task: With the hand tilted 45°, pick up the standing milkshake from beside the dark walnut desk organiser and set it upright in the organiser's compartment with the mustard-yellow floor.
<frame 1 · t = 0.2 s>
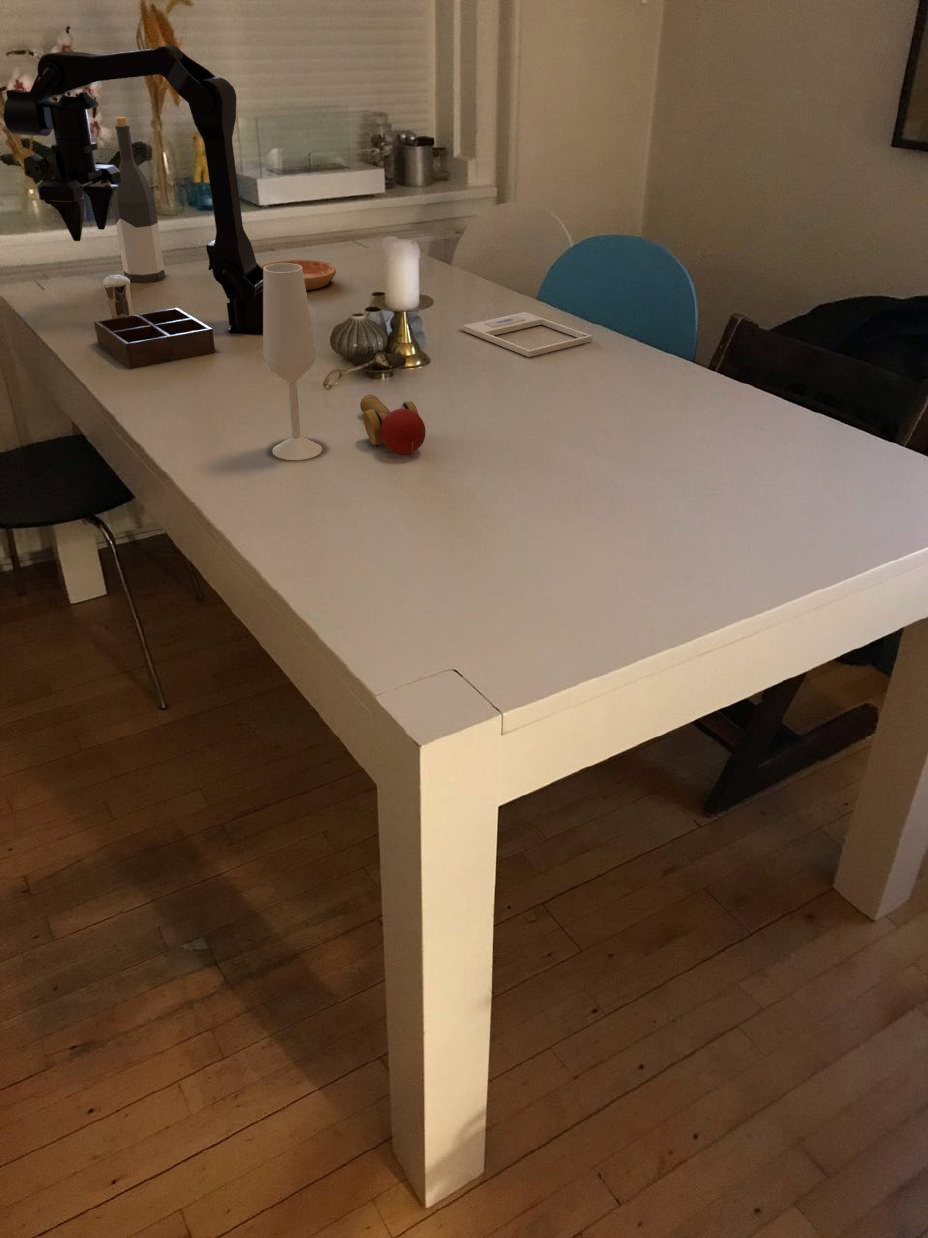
hand: (89, 234, 181), 15 cm above the table, tool pointing down, fingers open, 9 cm apart
organiser: (156, 348, 175), on the table
photo frame: (526, 336, 183), on the table
champagne flute: (297, 451, 140), on the table
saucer: (297, 284, 211), on the table
milkshake: (126, 328, 185), on the table
kendama: (388, 437, 144), on the table
wine bottle: (145, 278, 214), on the table
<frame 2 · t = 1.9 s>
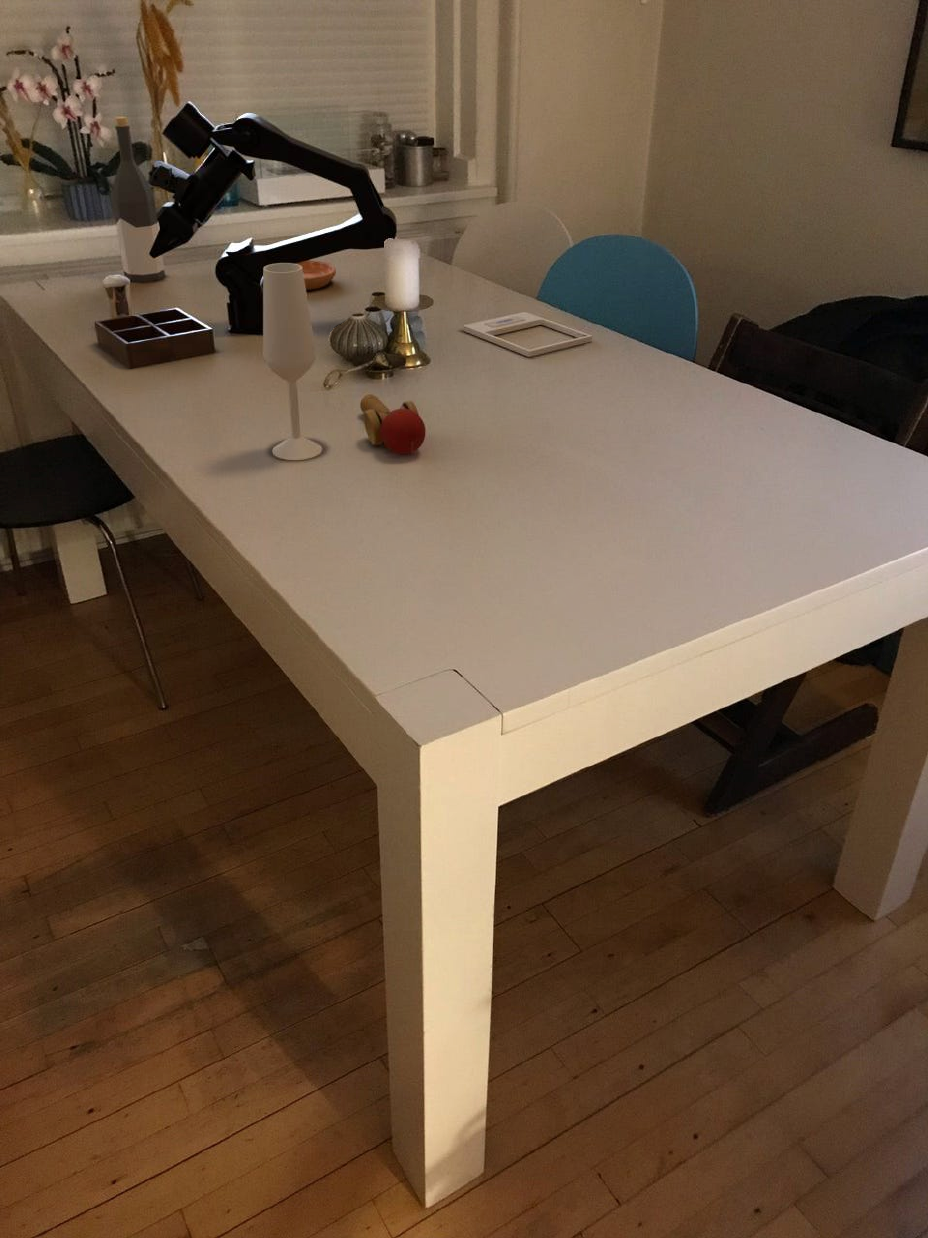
hand: (157, 249, 178), 13 cm above the table, tool tilted 45°, fingers open, 9 cm apart
nothing on the table moved.
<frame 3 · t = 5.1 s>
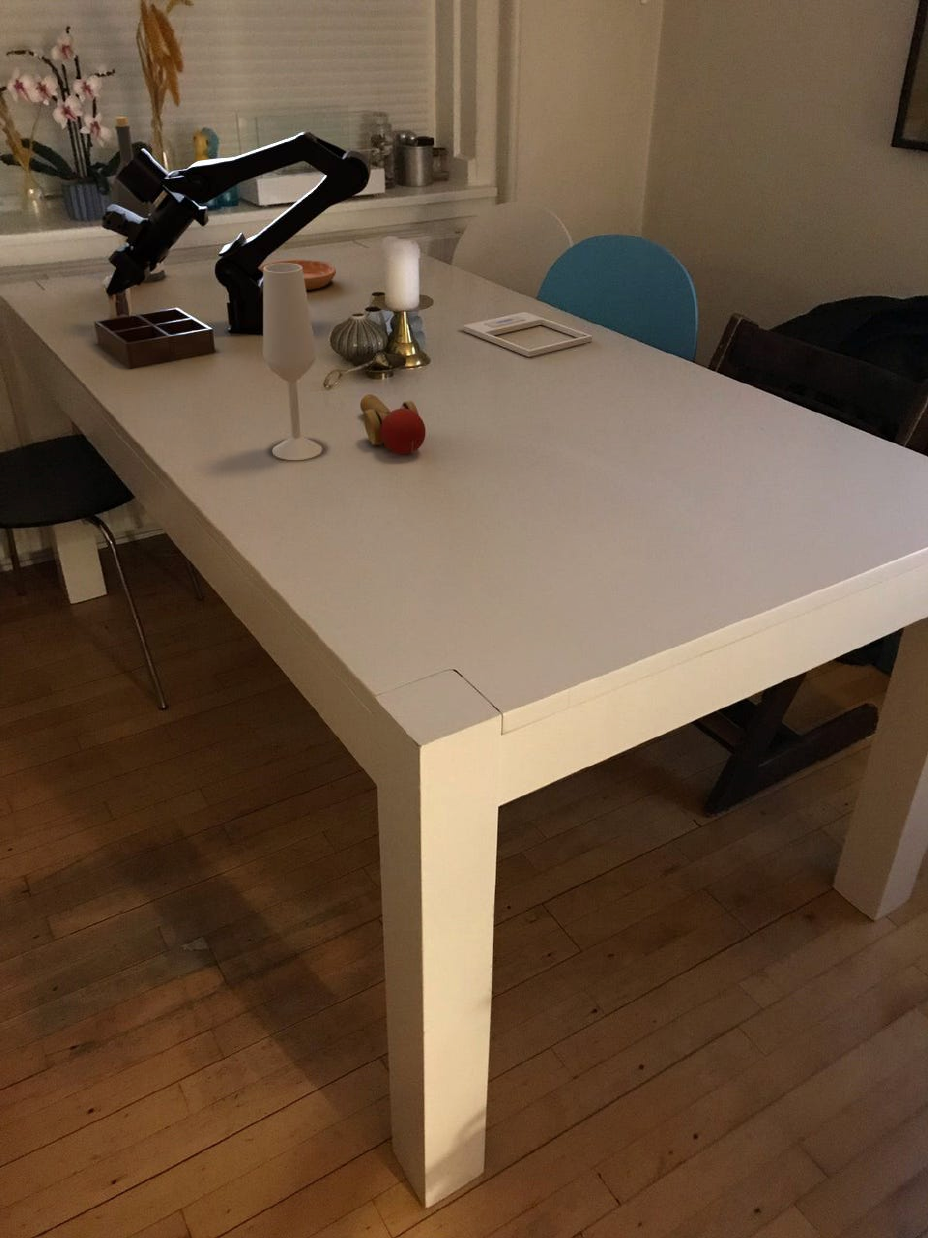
hand: (111, 289, 181), 7 cm above the table, tool tilted 45°, fingers closed on milkshake, 4 cm apart
milkshake: (126, 328, 185), on the table, touching gripper
everything else where it was.
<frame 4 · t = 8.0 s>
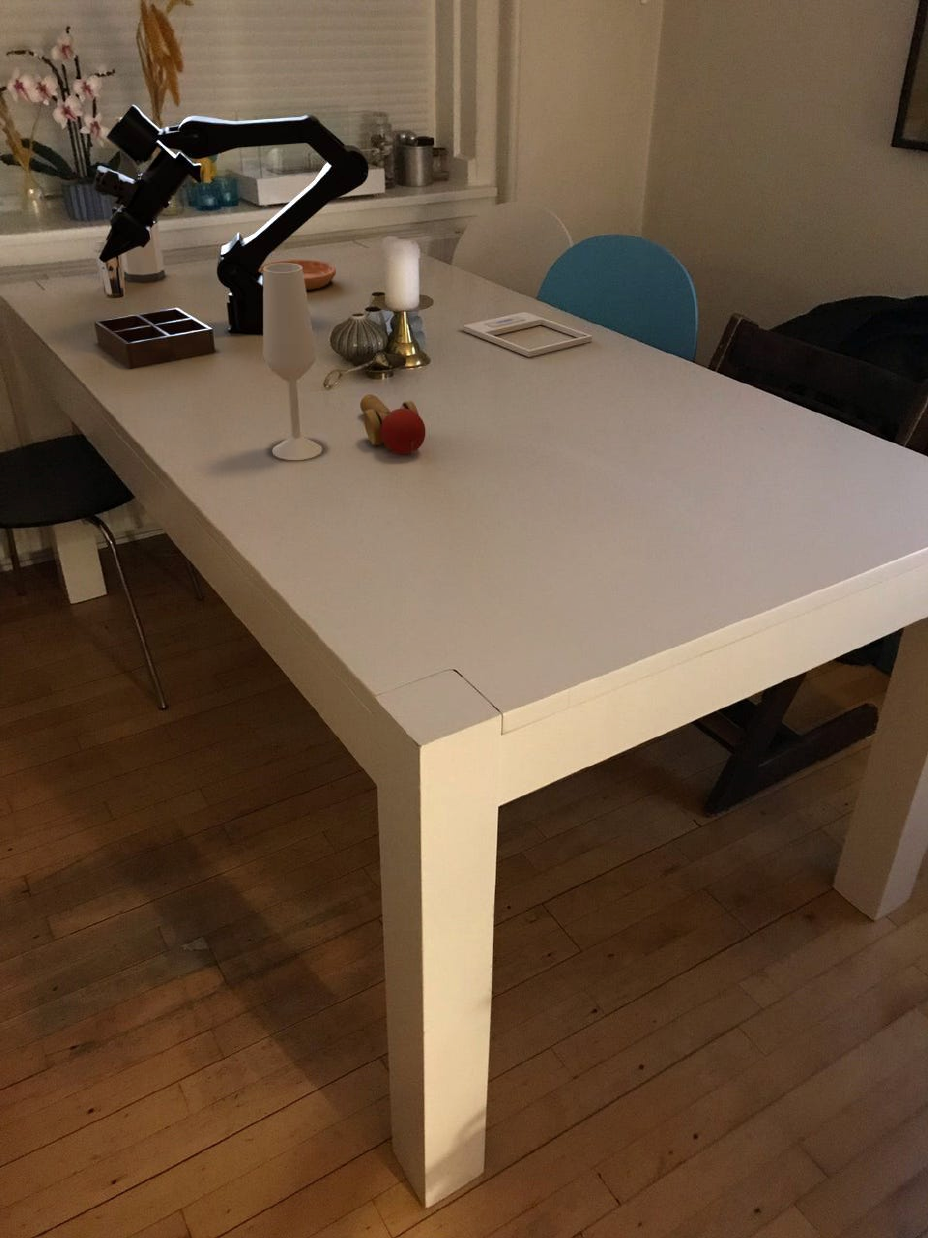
hand: (102, 256, 174), 13 cm above the table, tool tilted 45°, fingers closed on milkshake, 4 cm apart
milkshake: (118, 297, 178), point 6 cm above the table, touching gripper
everything else where it was.
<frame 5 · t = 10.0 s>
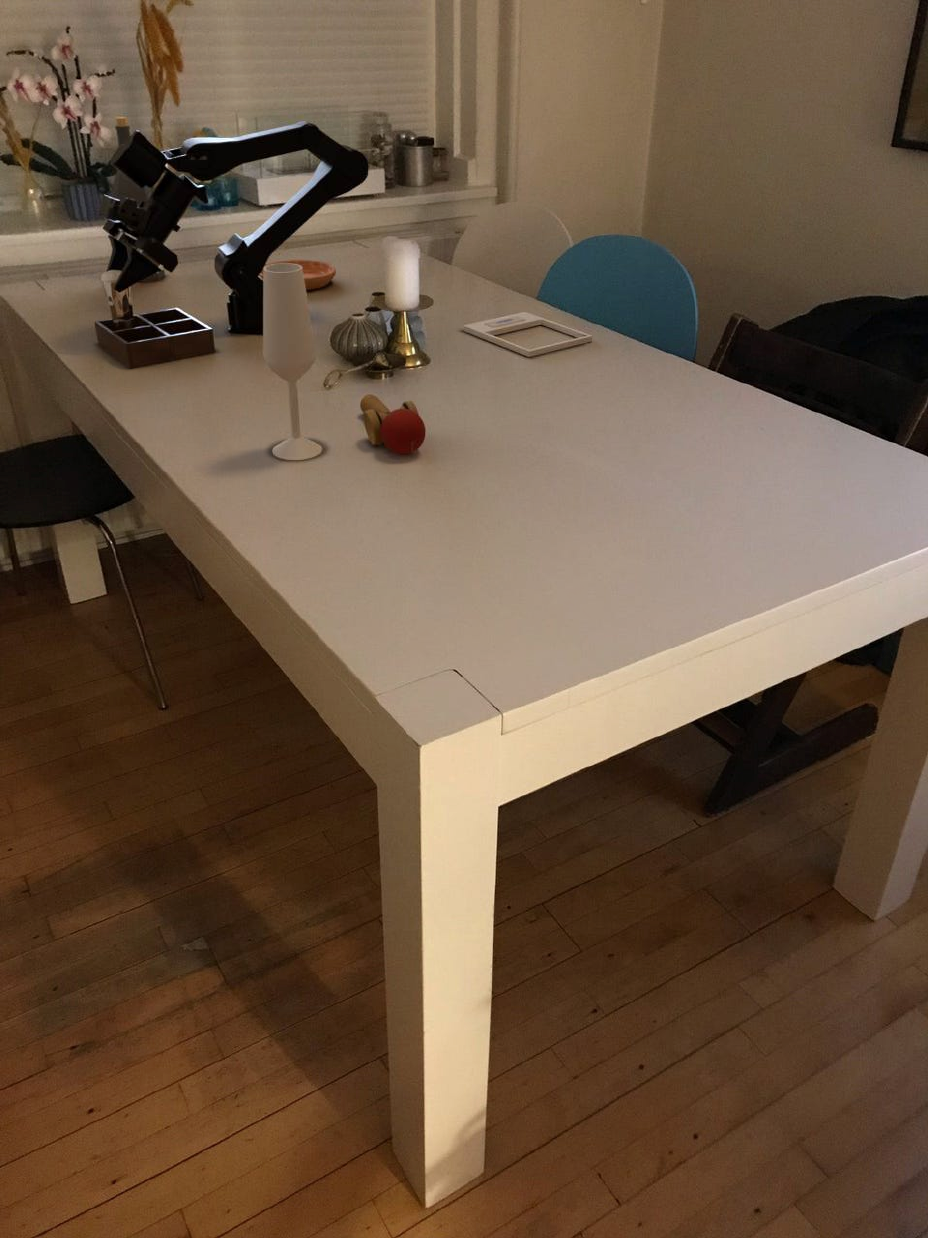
hand: (111, 287, 170), 10 cm above the table, tool tilted 45°, fingers closed on milkshake, 4 cm apart
milkshake: (126, 326, 174), point 3 cm above the table, touching gripper
everything else where it was.
when the fingers open (7 cm above the table, at t = 11.2 s): milkshake stays where it is, resting on organiser.
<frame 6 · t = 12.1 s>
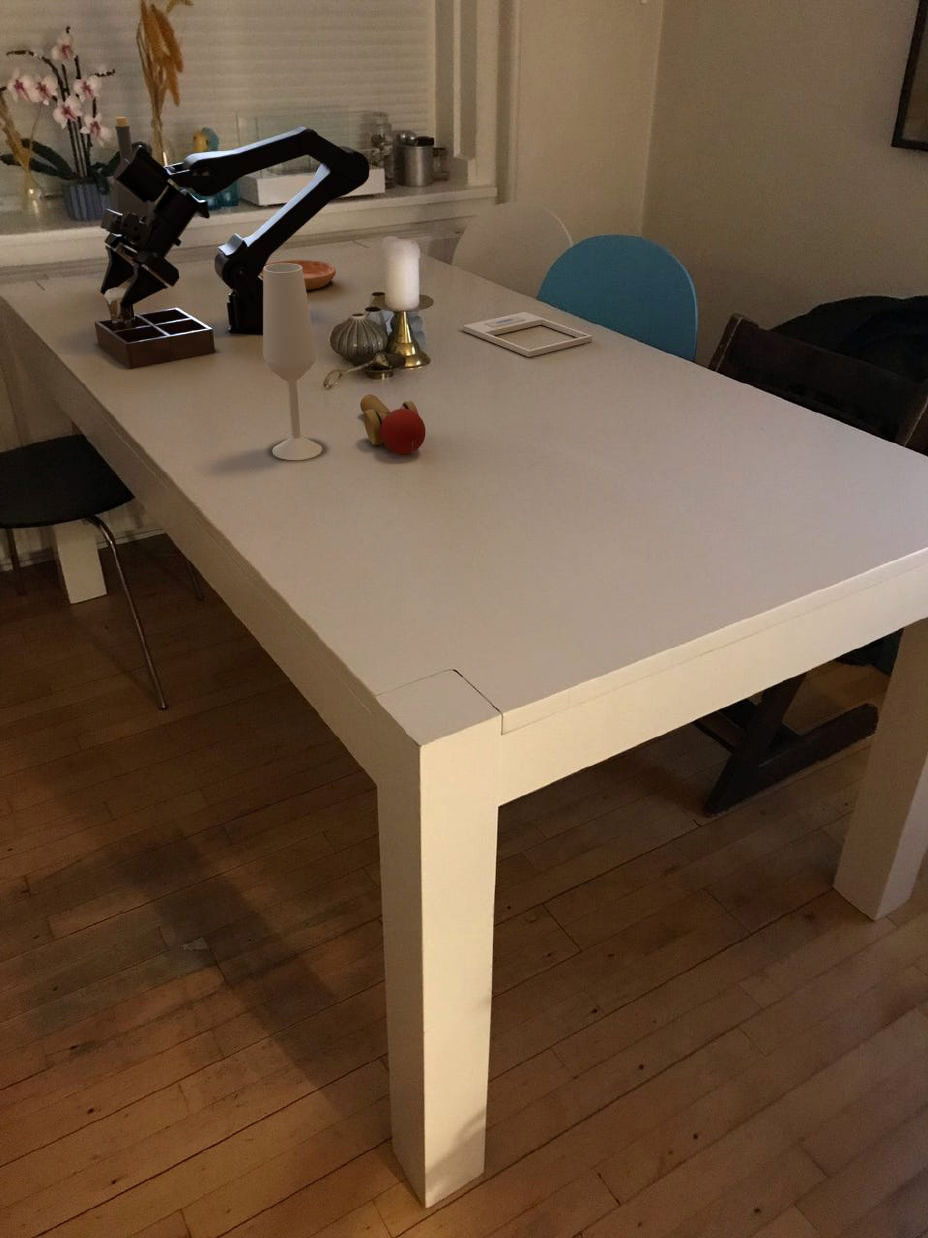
hand: (112, 300, 171), 8 cm above the table, tool tilted 45°, fingers open, 9 cm apart
milkshake: (129, 343, 175), point 1 cm above the table, touching organiser
everything else where it was.
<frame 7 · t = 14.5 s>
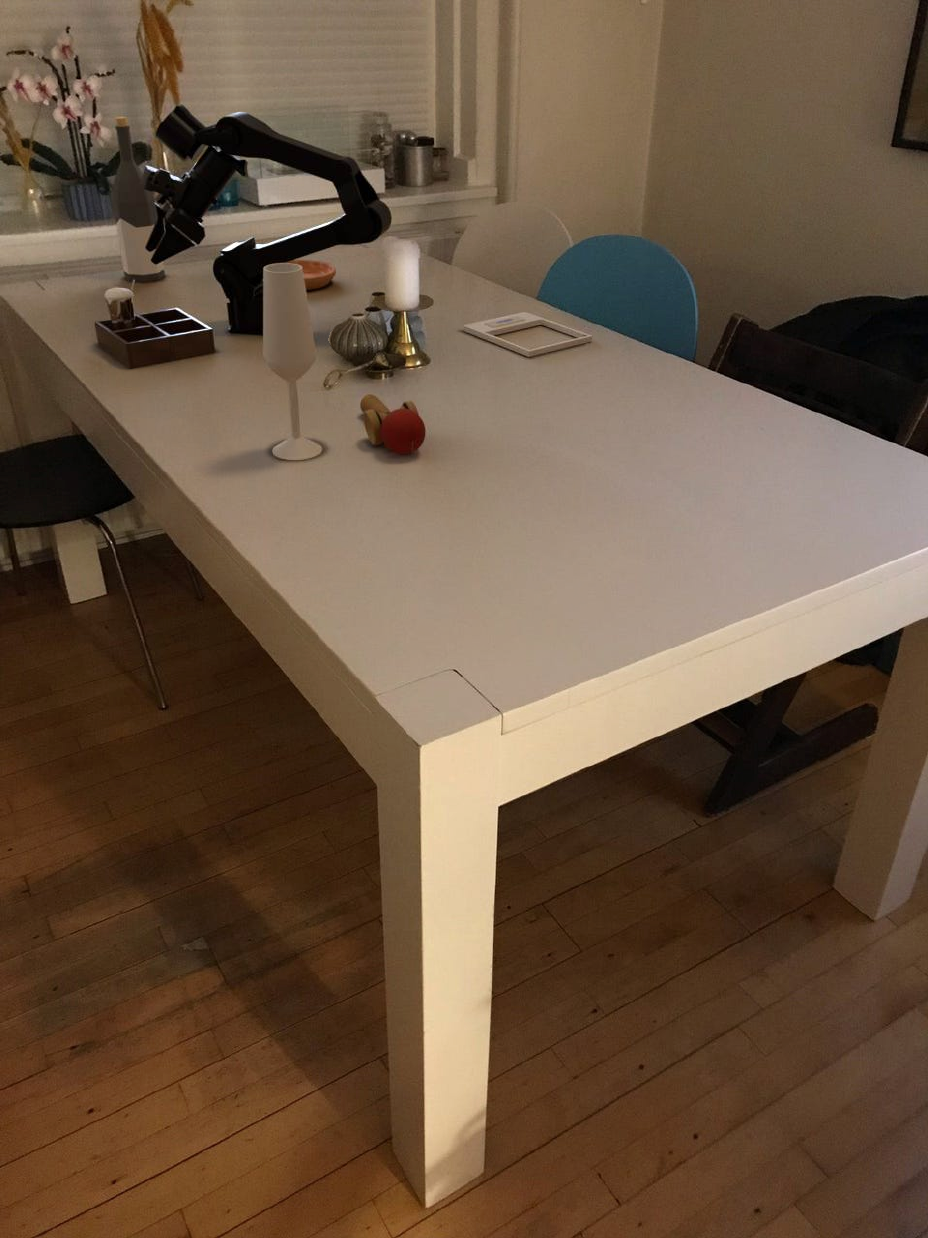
hand: (150, 256, 175), 13 cm above the table, tool tilted 45°, fingers open, 9 cm apart
nothing on the table moved.
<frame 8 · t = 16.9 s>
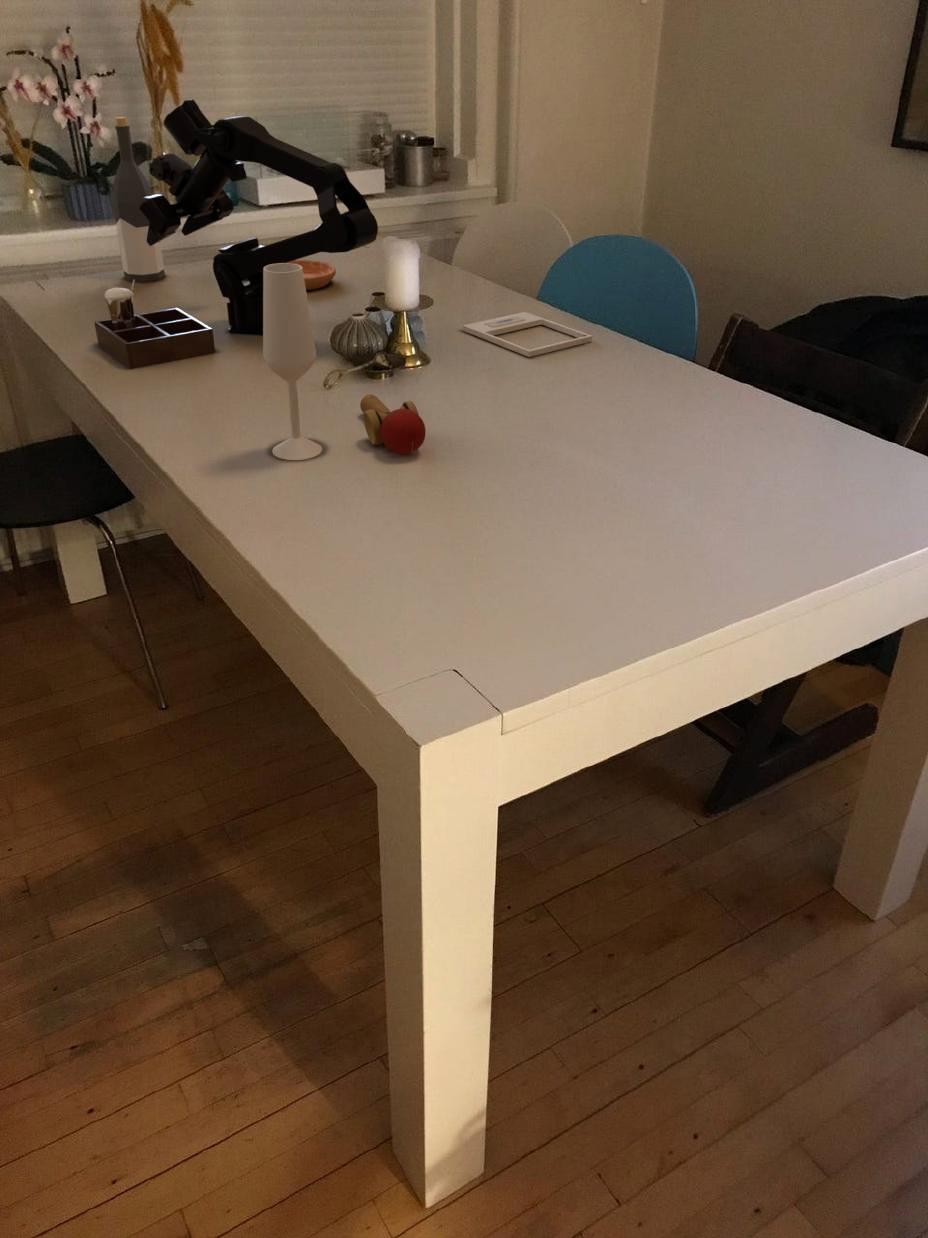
hand: (166, 238, 185), 14 cm above the table, tool tilted 45°, fingers open, 9 cm apart
nothing on the table moved.
at the end: milkshake 0.2 cm from the target spot in the organiser, point 0.5 cm above the organiser's base; milkshake tilted 0°; the gripper is holding nothing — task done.
